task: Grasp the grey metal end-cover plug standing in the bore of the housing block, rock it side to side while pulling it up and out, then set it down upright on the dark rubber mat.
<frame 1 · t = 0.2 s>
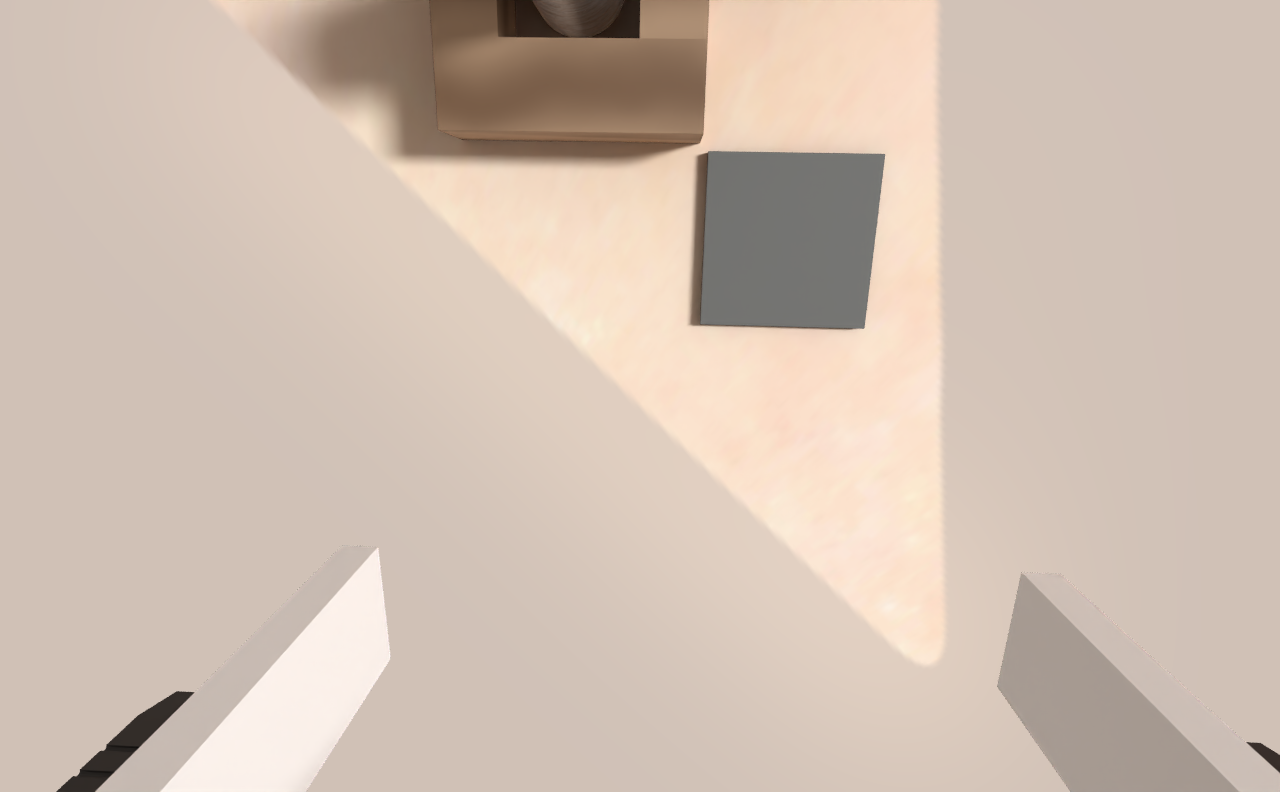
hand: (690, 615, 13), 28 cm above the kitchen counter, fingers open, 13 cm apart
mat: (787, 242, 37), on the kitchen counter
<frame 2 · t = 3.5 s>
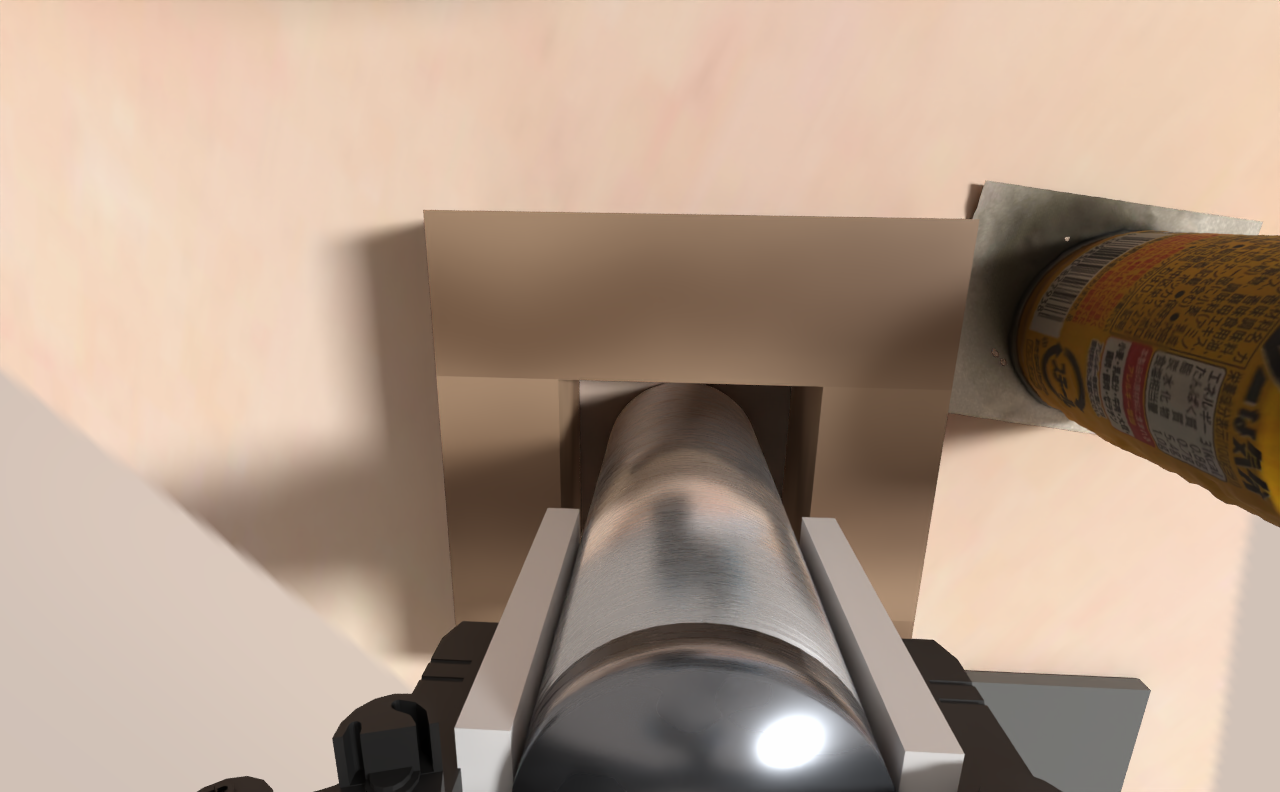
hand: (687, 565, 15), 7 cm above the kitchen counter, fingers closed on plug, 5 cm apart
plug: (687, 558, 15), in the housing, touching gripper
mat: (981, 776, 25), on the kitchen counter
condiment: (1073, 318, 20), on the kitchen counter
housing: (682, 453, 22), on the kitchen counter
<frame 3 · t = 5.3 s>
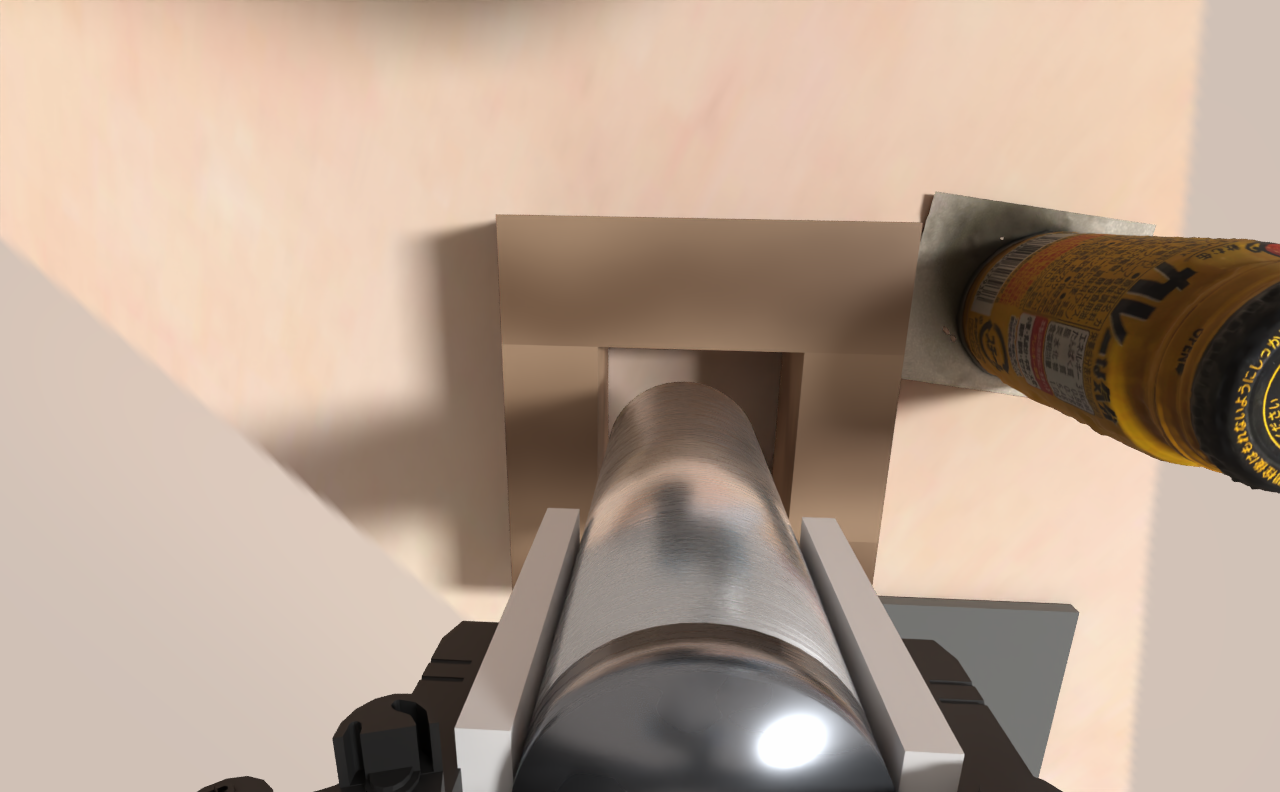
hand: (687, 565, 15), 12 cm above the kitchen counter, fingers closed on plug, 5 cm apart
plug: (687, 558, 15), point 12 cm above the kitchen counter, touching gripper
mat: (941, 690, 30), on the kitchen counter
condiment: (1009, 302, 25), on the kitchen counter
housing: (692, 413, 26), on the kitchen counter
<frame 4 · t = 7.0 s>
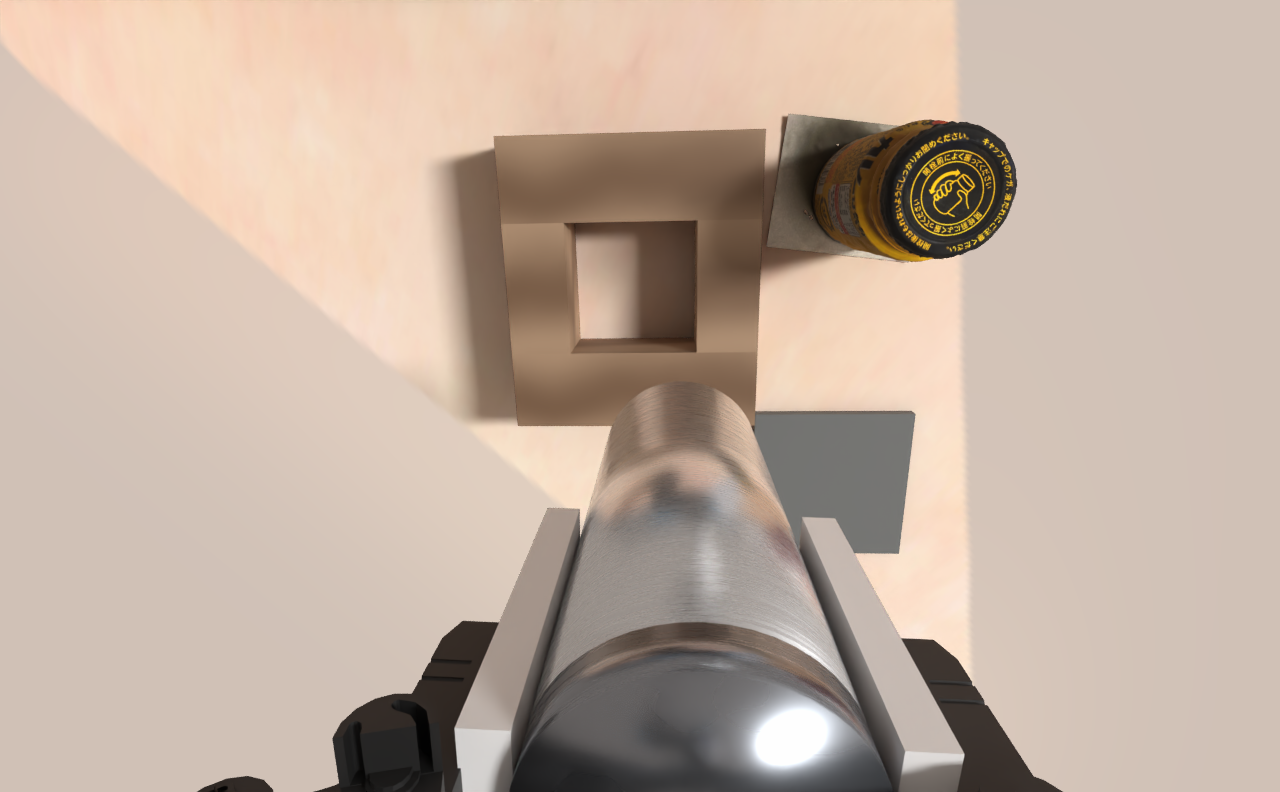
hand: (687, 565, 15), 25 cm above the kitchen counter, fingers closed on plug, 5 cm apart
plug: (686, 558, 15), point 25 cm above the kitchen counter, touching gripper
mat: (827, 482, 41), on the kitchen counter
condiment: (848, 190, 36), on the kitchen counter
housing: (635, 280, 38), on the kitchen counter
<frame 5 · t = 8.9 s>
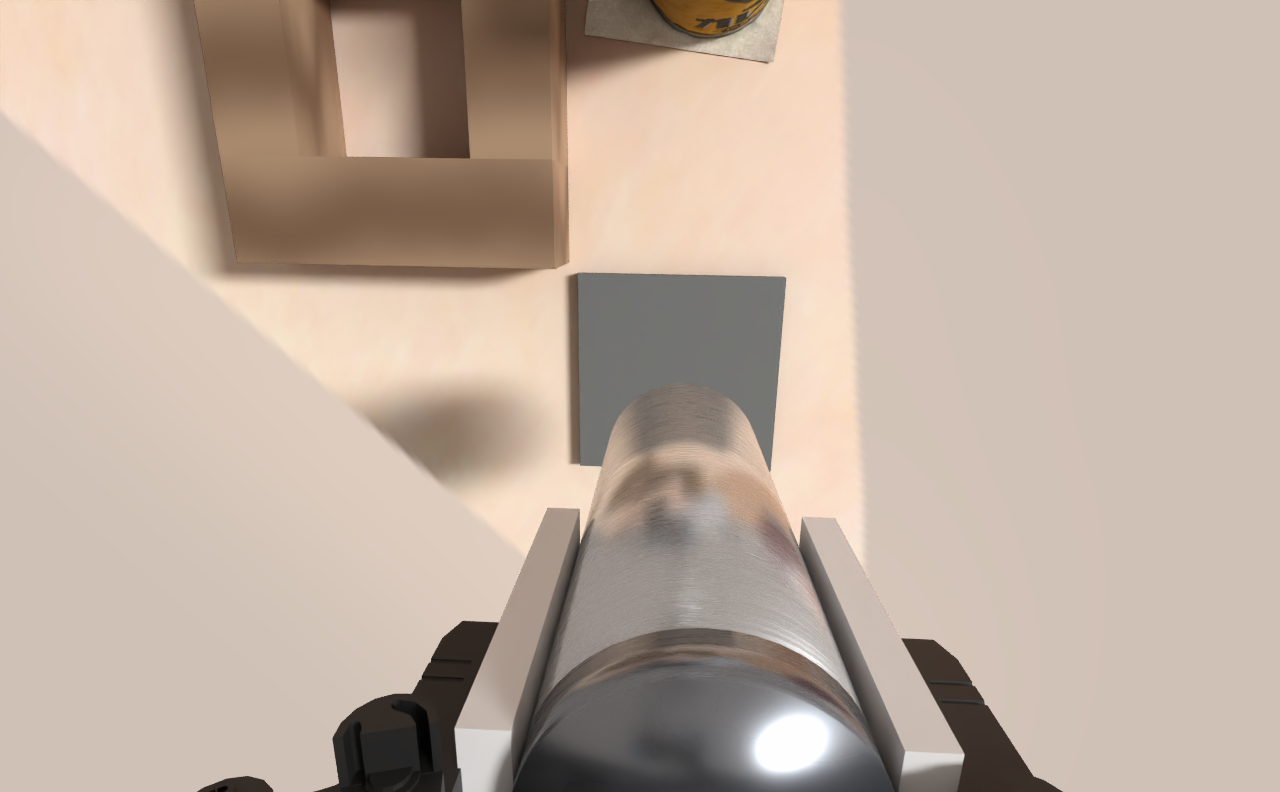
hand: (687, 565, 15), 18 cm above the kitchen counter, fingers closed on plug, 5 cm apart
plug: (687, 561, 15), point 18 cm above the kitchen counter, touching gripper
mat: (677, 373, 32), on the kitchen counter
housing: (414, 81, 28), on the kitchen counter
when the fingers open (9 cm above the kitchen counter, at t = 10.4 s): plug drops 1 cm, resting on mat.
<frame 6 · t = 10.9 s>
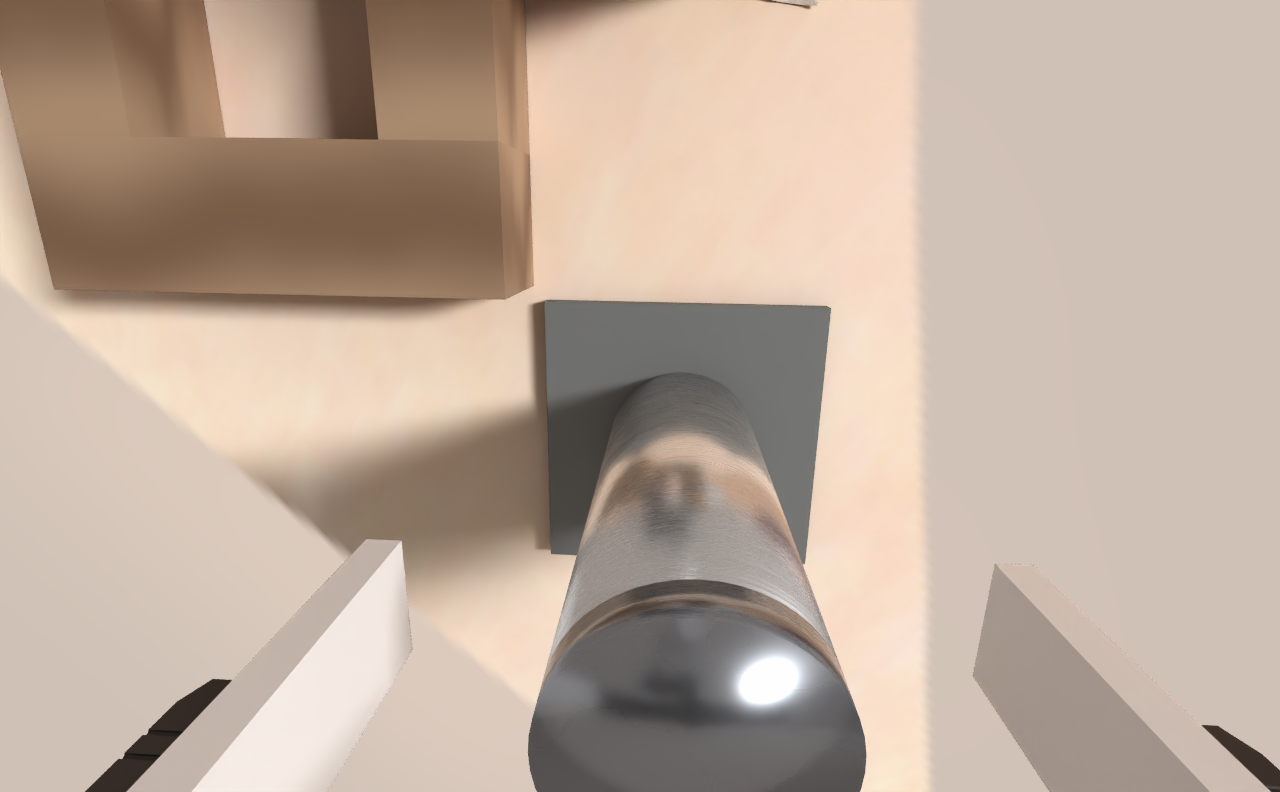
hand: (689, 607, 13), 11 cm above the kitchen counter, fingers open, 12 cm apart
plug: (685, 534, 16), on the mat, point 8 cm above the kitchen counter
mat: (681, 434, 24), on the kitchen counter
housing: (314, 35, 20), on the kitchen counter
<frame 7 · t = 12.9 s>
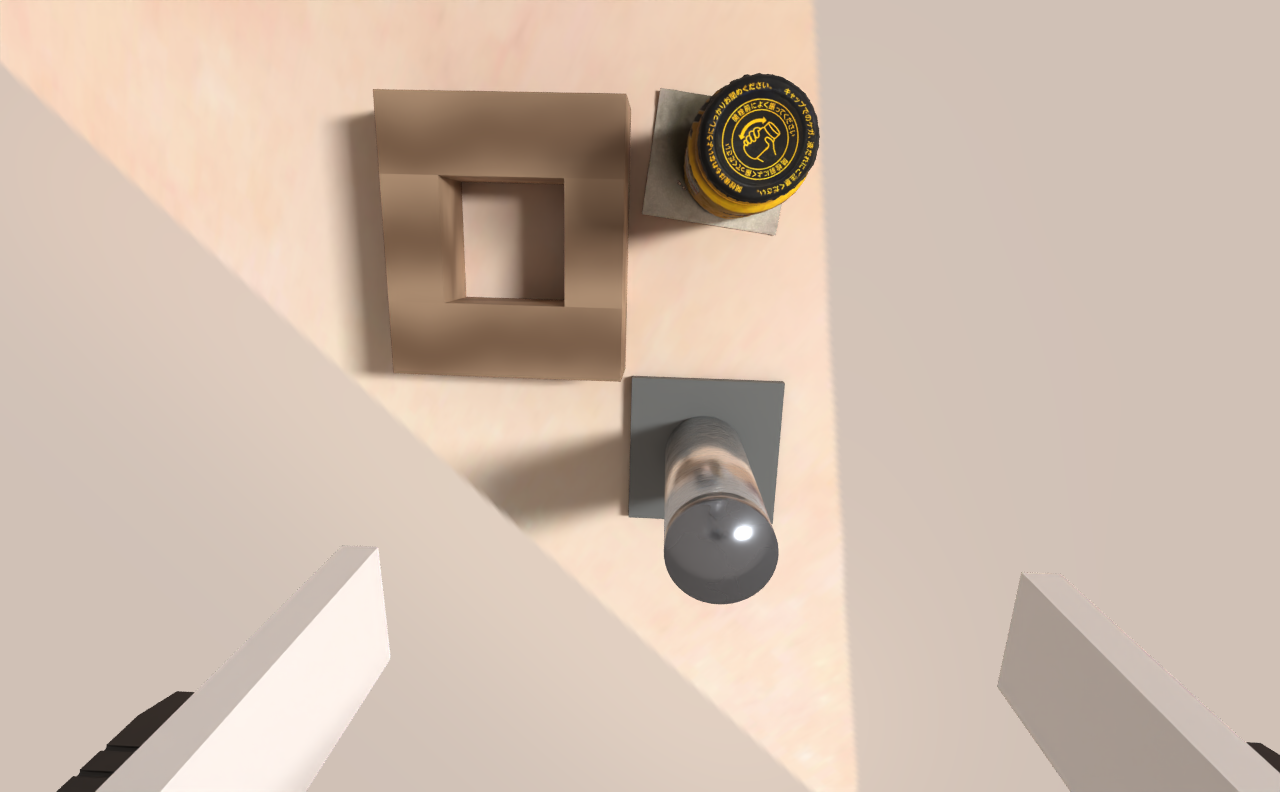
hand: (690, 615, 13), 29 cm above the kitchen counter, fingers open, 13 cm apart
plug: (710, 493, 35), on the mat, point 8 cm above the kitchen counter
mat: (703, 449, 42), on the kitchen counter
condiment: (718, 164, 38), on the kitchen counter
housing: (519, 242, 40), on the kitchen counter
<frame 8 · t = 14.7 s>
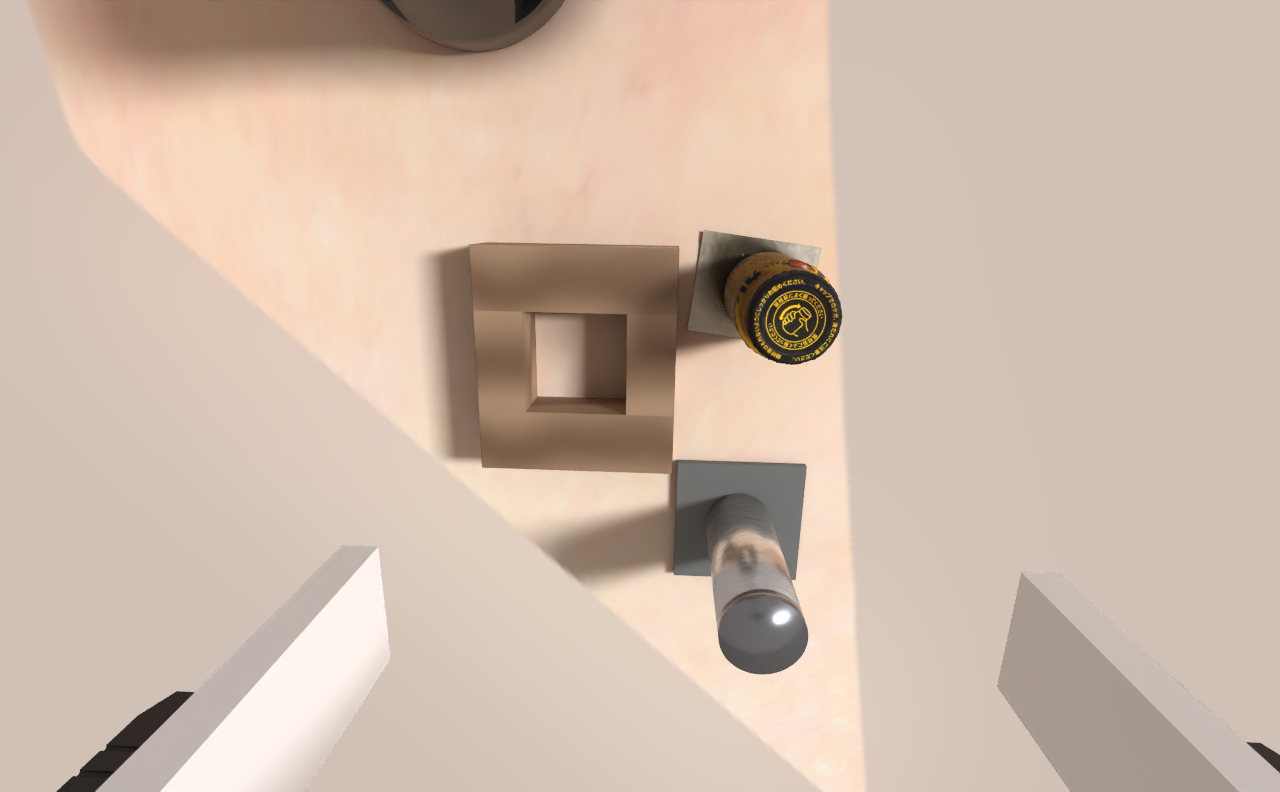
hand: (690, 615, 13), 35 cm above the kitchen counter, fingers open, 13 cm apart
plug: (748, 571, 43), on the mat, point 8 cm above the kitchen counter
mat: (737, 519, 50), on the kitchen counter
condiment: (751, 289, 45), on the kitchen counter
housing: (582, 352, 47), on the kitchen counter
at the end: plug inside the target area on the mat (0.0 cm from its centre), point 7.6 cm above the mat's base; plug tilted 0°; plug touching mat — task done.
